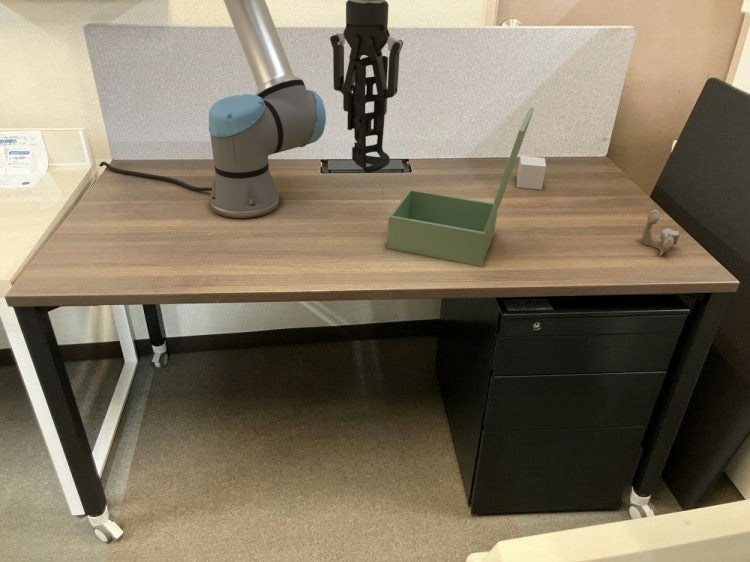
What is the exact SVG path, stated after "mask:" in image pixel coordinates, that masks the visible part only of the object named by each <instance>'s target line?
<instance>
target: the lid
mask: <svg viewBox="0 0 750 562" xmlns="http://www.w3.org/2000/svg"><path fill="white" fill-rule="evenodd" d="M534 110H535V108H534V107H529V108H528V110H527V112H526V115H525V118H524V119H523V121H522V123H521V125H520V128H519V129H518V132H517V135H516V138H515V141H514V143H513V147H512V149H511V152H510V155H509V158H508V160H507V164H506V166H505V170H504V173H503V175H502V178H501V181H500V184H499V187H498V189H497V192H496V194H495V195H496V196H495V198H494V201H493V203H494V204H493V207H492V210H491V213H490V215H489V218H488V221H487V224H486V227H485V230H484V231H486V232H489V229H490V227H491V225H492V222H493V220H494V217H495V215H496V213H497V214H498V211H499V208H500V206H501V203H502V201H503V198H504V195H505V192H506V189H507V186H508V183H509V181H510V178H511V176H512V173H513V170H514V167H515V164H516V161H517V158H518V155H519V153H520V151H521V147H522V144H523V141H524V139H525V136H526V133H527V130H528V127H529V125H530V121H531V119H532V116H533V113H534ZM497 210H498V211H497Z"/></svg>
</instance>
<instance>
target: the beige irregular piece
mask: <svg viewBox="0 0 750 562" xmlns="http://www.w3.org/2000/svg"><path fill="white" fill-rule="evenodd" d="M660 214H661V213H660V211H659V210H658V209H652V210H650V211H649V213H648V215H647V221H646V223H645V226H644V229H643V231H642V236H641V243H642V244H643V245H646V246H650V247H653V248H656V249H658V250H659V252H660V253H659V256H660V257H662V256H663V255H664V253H667V252H669V250H671V249H672V248H673V247H674V245H678V241H679V238H680V237H681V233H680V230H674V229H672V228H670V227H666V228H664V229H662V230H661V232H660V234H659V239H660V240H658V239H657V238H655V236H654V235H653V234H652V228H653V225H656V224H657V223H658V221H659V220H660Z"/></svg>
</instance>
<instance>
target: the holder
mask: <svg viewBox="0 0 750 562" xmlns="http://www.w3.org/2000/svg"><path fill="white" fill-rule="evenodd" d="M382 56H383V58H382V61H383V67H384V73H385V79H386V84H387V85H388V70H389V56H386V55H382ZM354 63H355V68H354V72H355V83H354V85H353V91H352V93H353V104H354V106H355V119H353V130H354V134H353V135H354V136H353V137H354V141H356V142H354V145H353V146H352V147H351V151H352V152H351V160H352V161H354V163H355V165H357V166H358V167H360V169H361V168H362V170H363V172H364V173H365V174H370V173H374V172H377V171H379V170H381V169H384V168H386V167H387V166H389V164H390V162H391V161H390V160H391V158H390V155H388V154H387V153H386V152H385V151H384V150H383V143H384V131H385V117H386V114H385V115H384V116H382V122H381V130H380V131H379V132H378V133H377V134H373V128H372V121H373V120H374V111H371V112H370V111H369V112H366V104H367V103H371V102H373V103H374V99H376V98H377V97H378V94H377V93H375V94H374V85H376V83H375V78H374V76H367V67H369V66H372V63H371V61H370V57H368V56H364V57H361V58H360V60H358V61H356V62H354ZM370 136H377V137H376V138H377V139H376V143H375V144H371V145H367V137H370ZM369 153H370V154H371V153H377V155H378V156H373V155H367V154H369ZM367 165H369V166H367Z"/></svg>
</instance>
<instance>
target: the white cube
mask: <svg viewBox="0 0 750 562" xmlns="http://www.w3.org/2000/svg"><path fill="white" fill-rule="evenodd" d="M546 169H547V164H546V159H545V157H539V156H538V157H537V156H528V155H520V156H519V161H518V169H517V174H516V187H517V188H522V189H534V190H543V184H544V179H545V175H546V174H545V173H546Z"/></svg>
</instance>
